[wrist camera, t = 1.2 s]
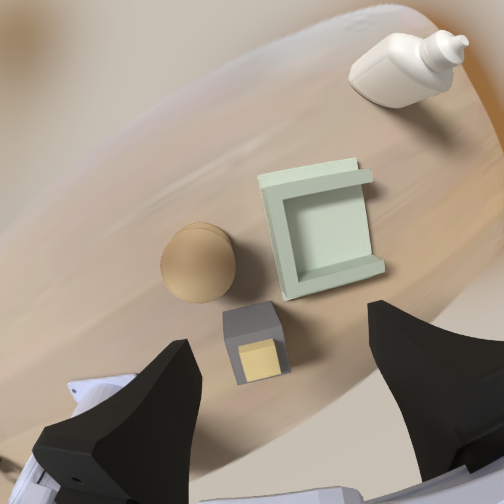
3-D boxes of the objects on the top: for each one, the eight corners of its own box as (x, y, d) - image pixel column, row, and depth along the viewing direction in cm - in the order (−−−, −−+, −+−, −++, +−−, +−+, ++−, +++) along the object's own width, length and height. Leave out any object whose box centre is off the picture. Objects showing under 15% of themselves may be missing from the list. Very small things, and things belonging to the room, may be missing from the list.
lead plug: (279, 342, 27) (294, 379, 21) (233, 352, 27) (238, 393, 21) (270, 300, 26) (284, 331, 20) (222, 311, 26) (224, 346, 20)
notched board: (370, 274, 27) (386, 283, 24) (282, 297, 26) (290, 311, 23) (352, 158, 24) (368, 155, 21) (256, 175, 24) (261, 173, 21)
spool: (239, 278, 25) (243, 294, 21) (178, 292, 25) (172, 310, 21) (225, 216, 24) (226, 221, 20) (162, 231, 24) (151, 239, 20)
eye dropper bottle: (381, 125, 24) (477, 96, 12) (339, 74, 23) (415, 12, 11) (409, 99, 24) (502, 66, 12) (369, 51, 23) (448, -8, 11)
